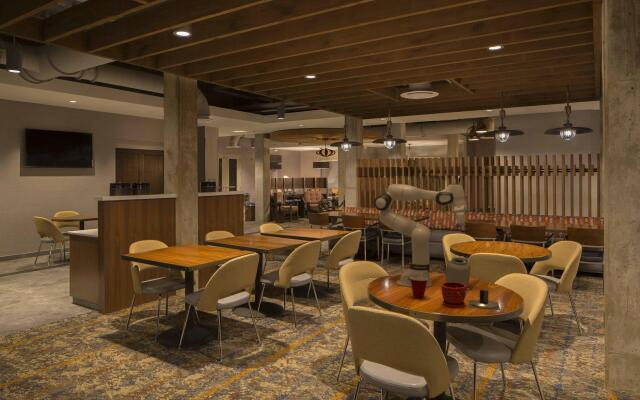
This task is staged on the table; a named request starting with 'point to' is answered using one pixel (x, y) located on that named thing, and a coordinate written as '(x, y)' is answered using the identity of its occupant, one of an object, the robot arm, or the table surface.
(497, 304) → the mat
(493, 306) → the lid
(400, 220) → the robot arm
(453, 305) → the plant pot
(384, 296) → the table surface
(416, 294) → the plastic cup
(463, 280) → the jar
